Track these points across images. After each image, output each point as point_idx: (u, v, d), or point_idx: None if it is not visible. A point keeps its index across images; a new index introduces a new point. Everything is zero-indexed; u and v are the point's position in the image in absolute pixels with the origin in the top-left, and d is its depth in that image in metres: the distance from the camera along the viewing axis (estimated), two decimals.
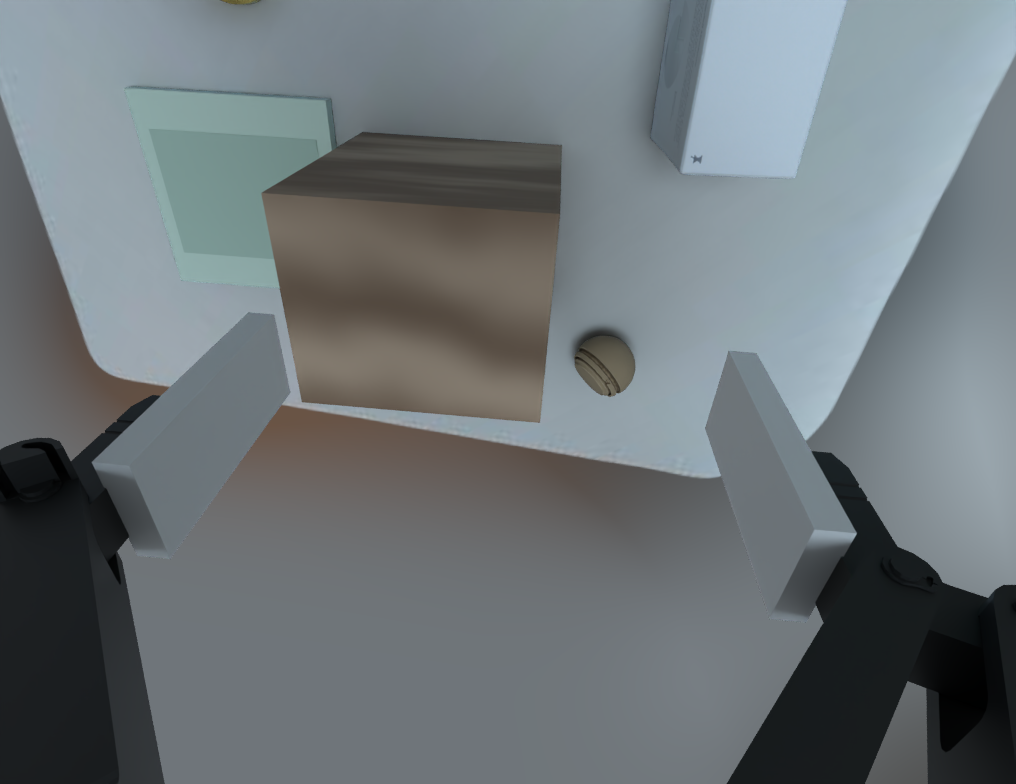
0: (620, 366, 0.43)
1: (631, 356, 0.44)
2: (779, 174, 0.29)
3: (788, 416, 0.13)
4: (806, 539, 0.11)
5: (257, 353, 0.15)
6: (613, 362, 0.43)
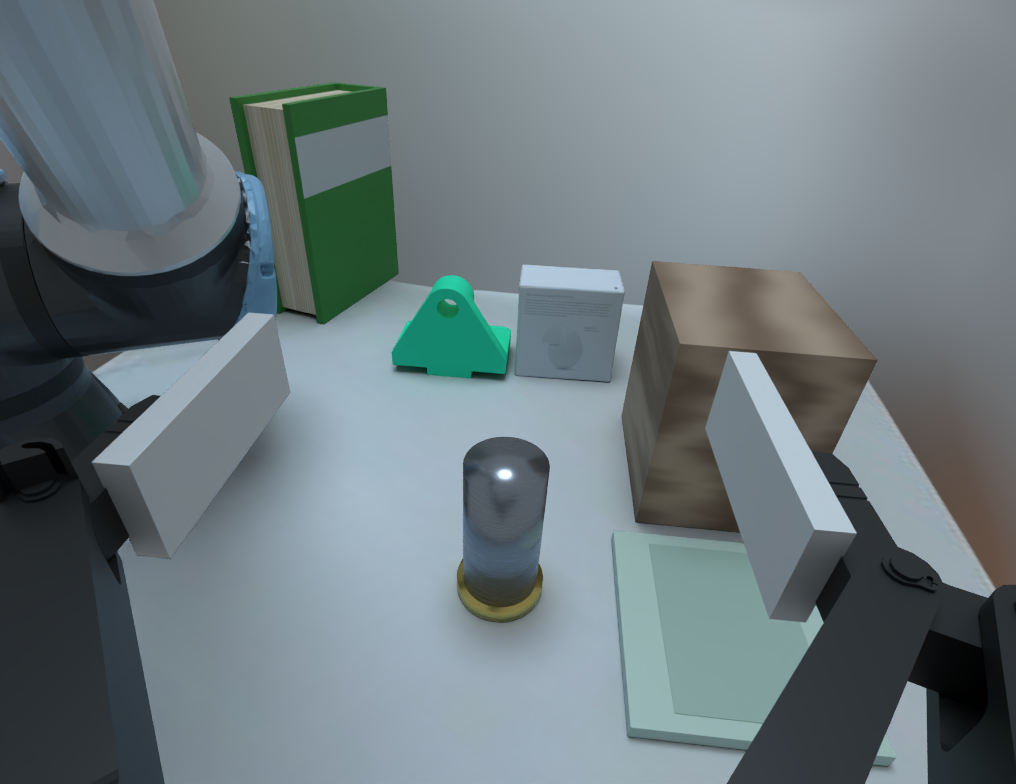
0: None
1: None
2: (617, 273, 0.59)
3: (788, 416, 0.13)
4: (806, 539, 0.11)
5: (257, 353, 0.15)
6: None
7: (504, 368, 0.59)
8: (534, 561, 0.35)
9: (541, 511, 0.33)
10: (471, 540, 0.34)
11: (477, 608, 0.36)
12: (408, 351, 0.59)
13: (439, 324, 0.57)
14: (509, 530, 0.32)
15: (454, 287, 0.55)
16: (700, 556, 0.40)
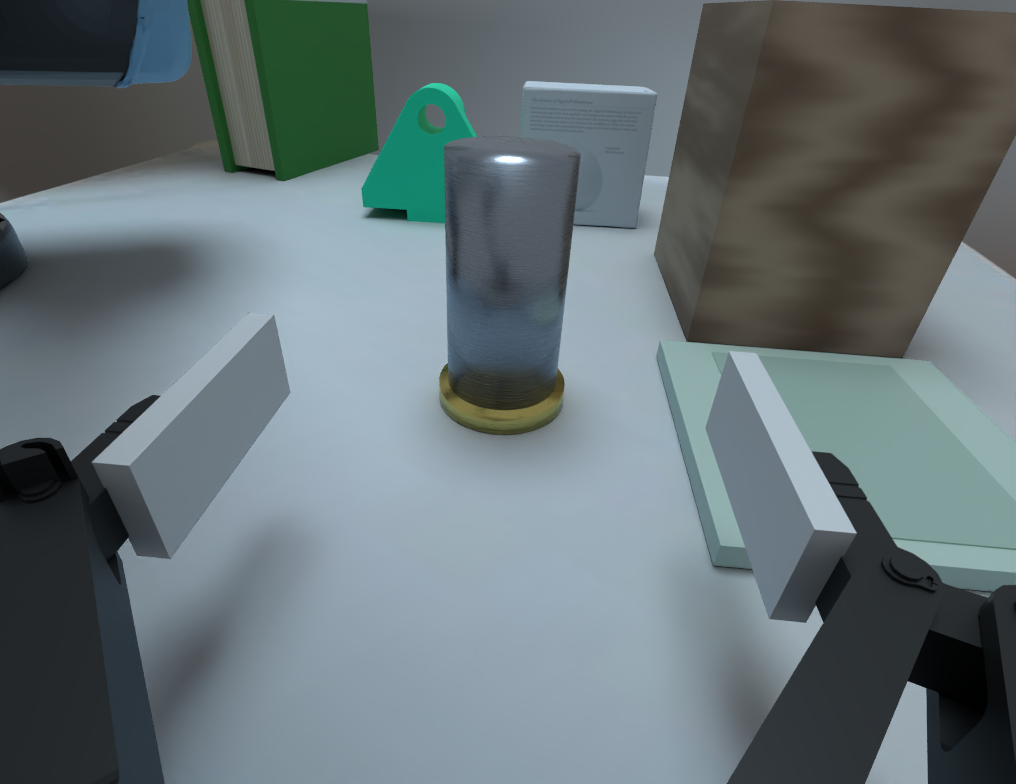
0: None
1: None
2: (645, 88, 0.47)
3: (788, 416, 0.13)
4: (806, 539, 0.11)
5: (257, 353, 0.15)
6: None
7: None
8: (554, 333, 0.23)
9: (567, 230, 0.21)
10: (458, 285, 0.22)
11: (469, 412, 0.24)
12: (382, 187, 0.47)
13: (421, 143, 0.44)
14: (518, 248, 0.20)
15: (440, 88, 0.43)
16: (785, 365, 0.29)
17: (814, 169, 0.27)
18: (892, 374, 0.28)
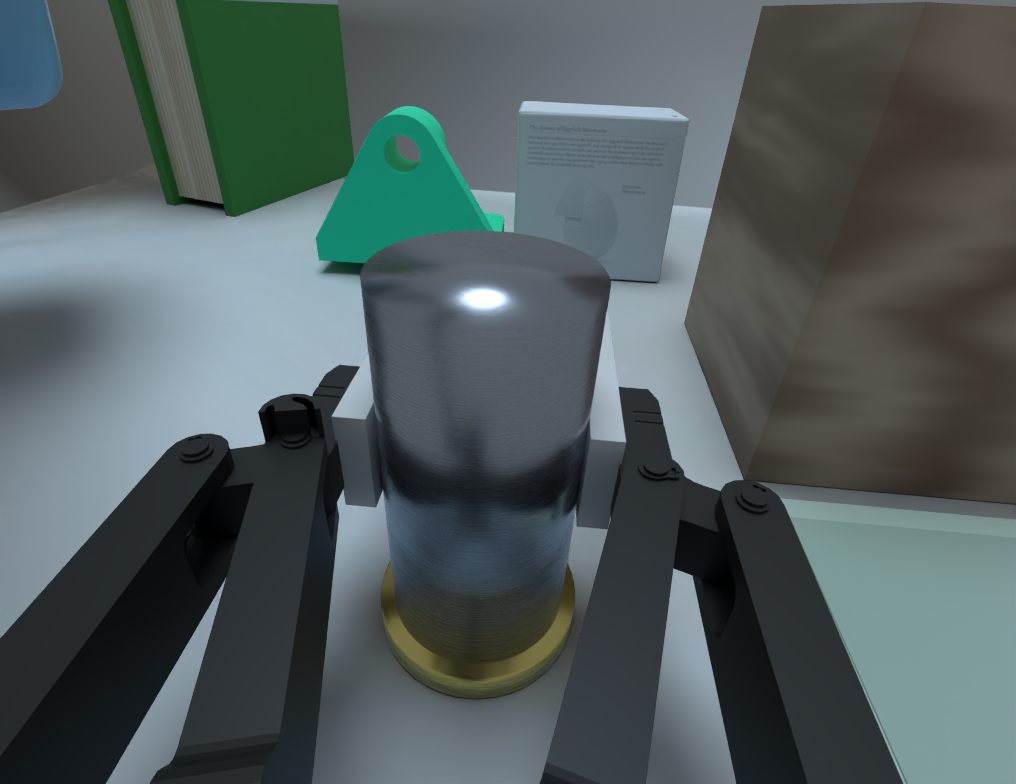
0: None
1: None
2: (671, 110, 0.38)
3: (611, 357, 0.15)
4: (589, 450, 0.12)
5: None
6: None
7: None
8: (560, 551, 0.14)
9: (585, 410, 0.12)
10: (395, 493, 0.13)
11: (421, 666, 0.15)
12: (342, 236, 0.37)
13: (389, 184, 0.35)
14: (495, 457, 0.11)
15: (412, 115, 0.33)
16: (901, 542, 0.19)
17: (959, 261, 0.17)
18: None
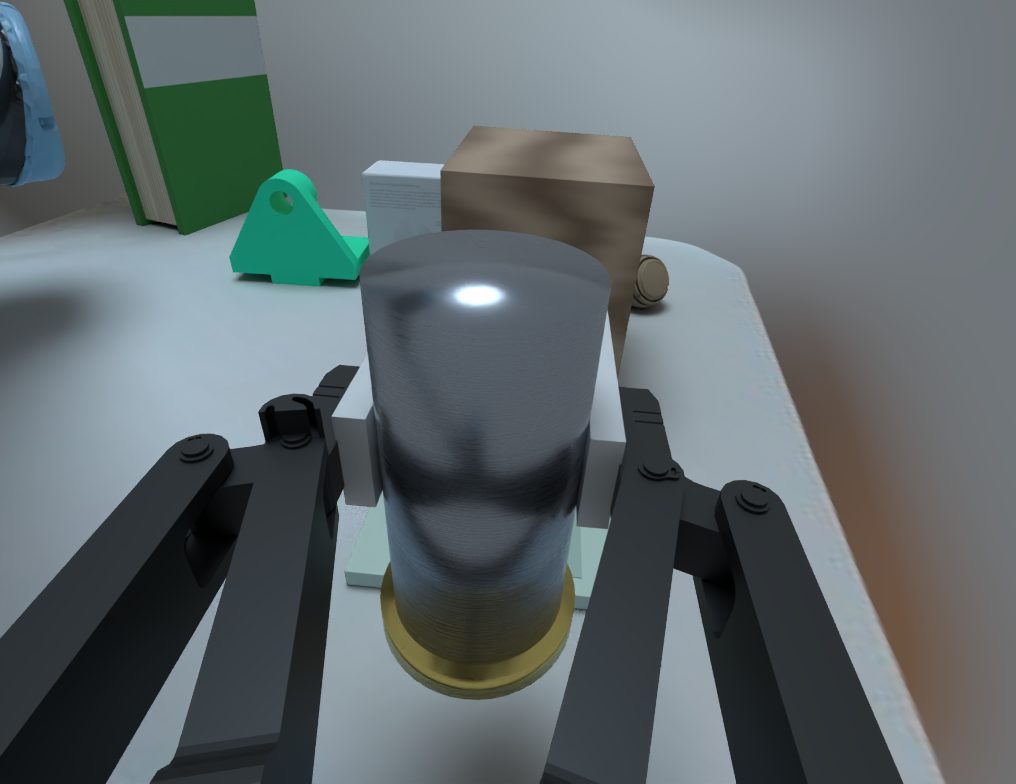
0: None
1: None
2: None
3: (611, 357, 0.15)
4: (589, 450, 0.12)
5: None
6: None
7: (353, 273, 0.55)
8: (561, 552, 0.14)
9: (585, 410, 0.12)
10: (394, 494, 0.13)
11: (421, 667, 0.15)
12: (247, 256, 0.54)
13: (275, 222, 0.52)
14: (494, 458, 0.11)
15: (286, 178, 0.50)
16: None
17: None
18: None
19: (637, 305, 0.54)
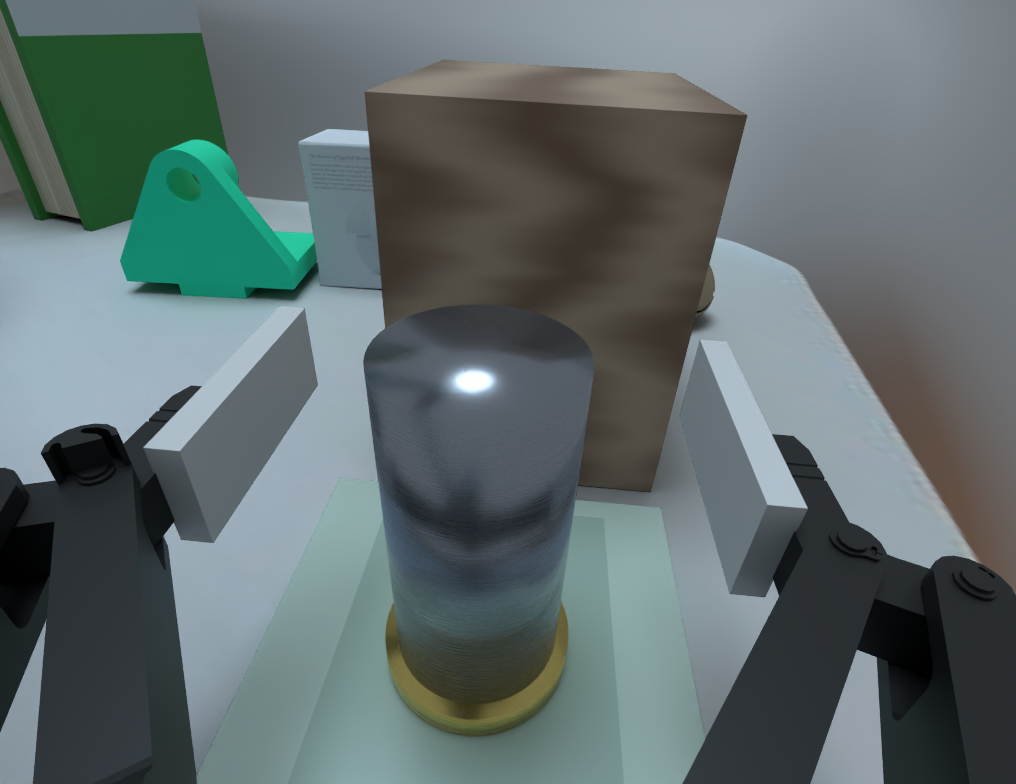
0: None
1: None
2: None
3: (752, 400, 0.14)
4: (761, 515, 0.11)
5: (289, 345, 0.16)
6: None
7: (291, 280, 0.41)
8: (553, 601, 0.15)
9: (572, 479, 0.13)
10: (397, 554, 0.14)
11: (424, 707, 0.16)
12: (144, 259, 0.40)
13: (178, 211, 0.38)
14: (488, 529, 0.12)
15: (189, 150, 0.36)
16: None
17: (481, 287, 0.21)
18: (597, 533, 0.23)
19: None
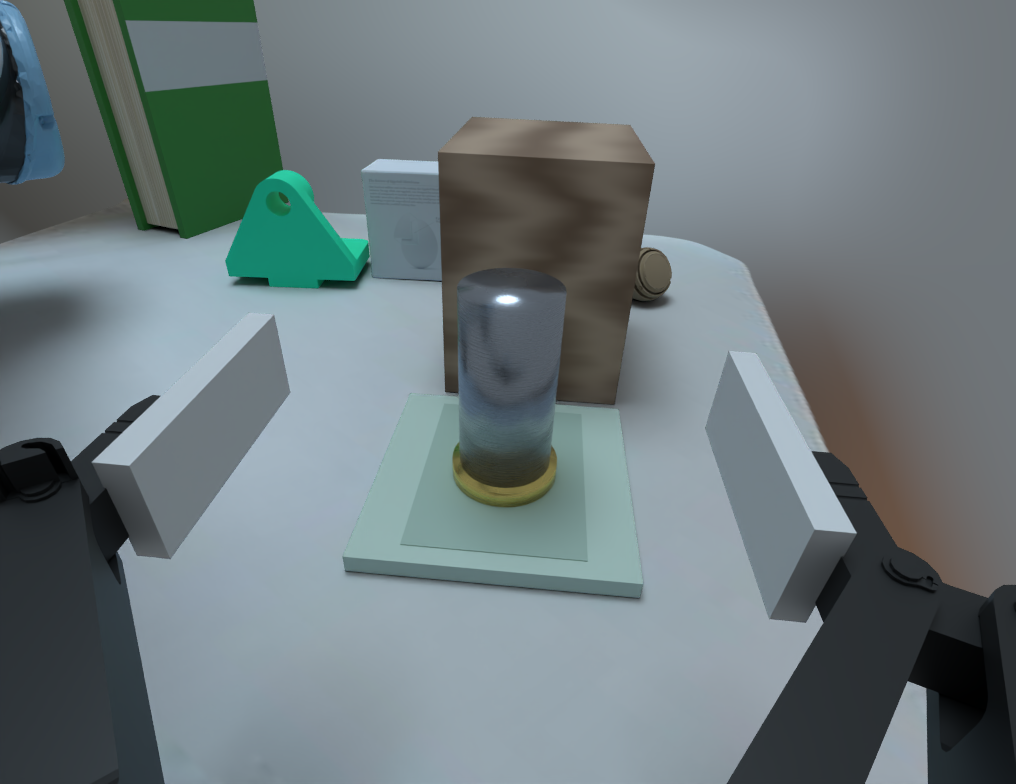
0: None
1: None
2: None
3: (788, 416, 0.13)
4: (806, 539, 0.11)
5: (257, 353, 0.15)
6: None
7: (353, 274, 0.54)
8: (547, 426, 0.28)
9: (556, 350, 0.26)
10: (468, 392, 0.27)
11: (477, 489, 0.29)
12: (244, 259, 0.53)
13: (272, 223, 0.51)
14: (516, 369, 0.25)
15: (283, 178, 0.50)
16: None
17: (503, 266, 0.35)
18: (577, 421, 0.36)
19: (640, 298, 0.54)
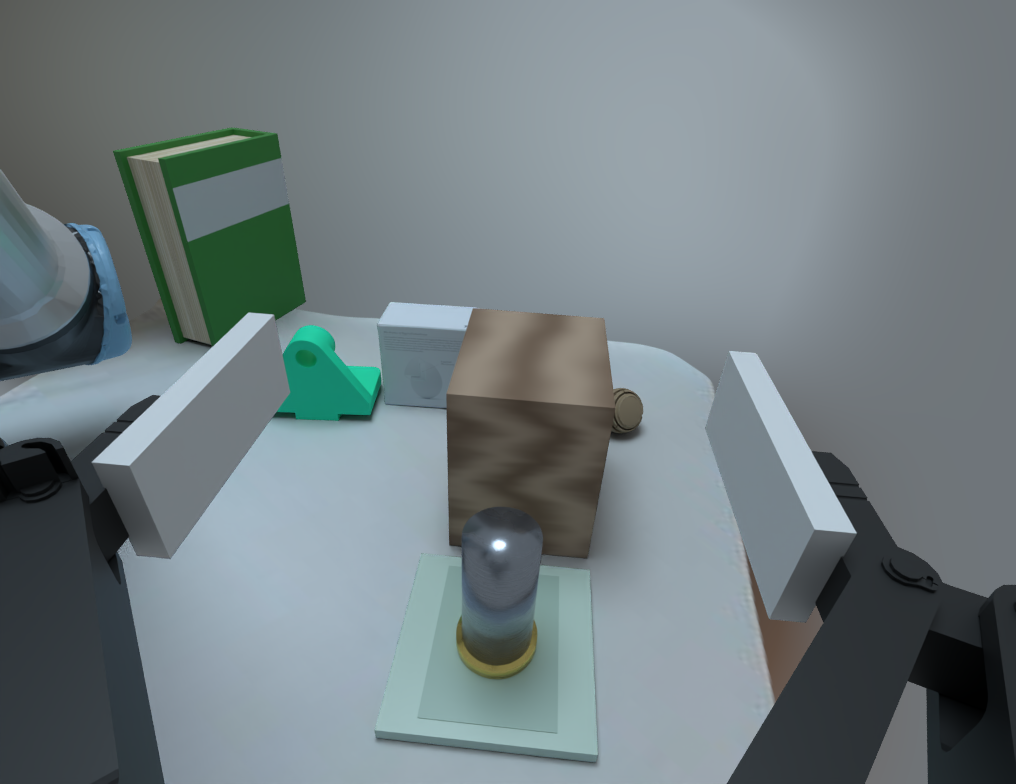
0: None
1: None
2: None
3: (788, 416, 0.13)
4: (806, 539, 0.11)
5: (257, 353, 0.15)
6: None
7: (369, 410, 0.62)
8: (529, 623, 0.37)
9: (535, 579, 0.35)
10: (469, 605, 0.36)
11: (475, 666, 0.38)
12: None
13: (300, 373, 0.60)
14: (505, 599, 0.34)
15: (310, 338, 0.58)
16: None
17: (497, 466, 0.44)
18: (555, 584, 0.45)
19: (615, 432, 0.62)
